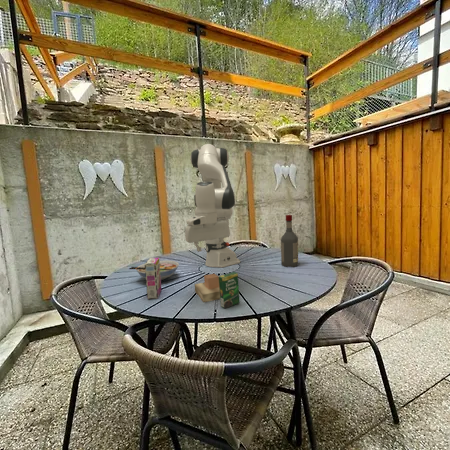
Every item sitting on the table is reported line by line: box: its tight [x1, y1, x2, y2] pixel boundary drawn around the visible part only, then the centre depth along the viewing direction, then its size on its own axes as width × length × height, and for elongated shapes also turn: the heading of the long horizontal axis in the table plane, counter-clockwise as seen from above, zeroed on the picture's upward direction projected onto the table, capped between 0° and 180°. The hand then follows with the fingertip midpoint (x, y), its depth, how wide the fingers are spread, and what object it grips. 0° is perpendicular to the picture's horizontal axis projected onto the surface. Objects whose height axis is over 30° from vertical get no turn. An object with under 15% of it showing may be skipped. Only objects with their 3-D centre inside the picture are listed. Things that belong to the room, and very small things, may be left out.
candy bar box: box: [144, 257, 162, 300], centre depth 123 cm, size 11×5×16 cm, turn 5°
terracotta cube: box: [203, 273, 220, 289], centre depth 120 cm, size 5×5×5 cm
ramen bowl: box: [128, 260, 180, 281], centre depth 146 cm, size 25×23×8 cm
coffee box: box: [218, 271, 241, 310], centre depth 107 cm, size 8×3×13 cm, turn 123°
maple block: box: [194, 281, 220, 303], centre depth 121 cm, size 12×14×4 cm
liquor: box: [280, 214, 299, 268], centre depth 157 cm, size 9×9×30 cm
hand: (209, 249), depth 118 cm, fingers open, 8 cm apart
